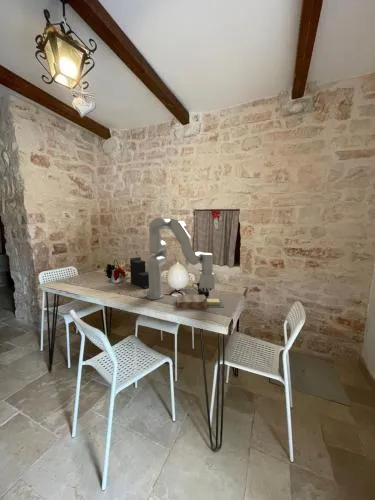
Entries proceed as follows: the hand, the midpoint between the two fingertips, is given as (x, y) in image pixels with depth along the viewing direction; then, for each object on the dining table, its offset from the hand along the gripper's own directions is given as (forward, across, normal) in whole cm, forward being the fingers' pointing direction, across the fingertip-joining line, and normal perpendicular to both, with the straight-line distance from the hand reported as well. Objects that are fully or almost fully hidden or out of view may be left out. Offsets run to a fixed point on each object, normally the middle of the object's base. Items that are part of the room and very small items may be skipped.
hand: (206, 297), depth 151 cm
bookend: (+5, -53, +44) cm, 69 cm away
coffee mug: (+5, -2, +20) cm, 21 cm away
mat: (+5, +6, 0) cm, 7 cm away
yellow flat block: (+4, +4, 0) cm, 6 cm away
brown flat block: (+5, -10, 0) cm, 11 cm away
